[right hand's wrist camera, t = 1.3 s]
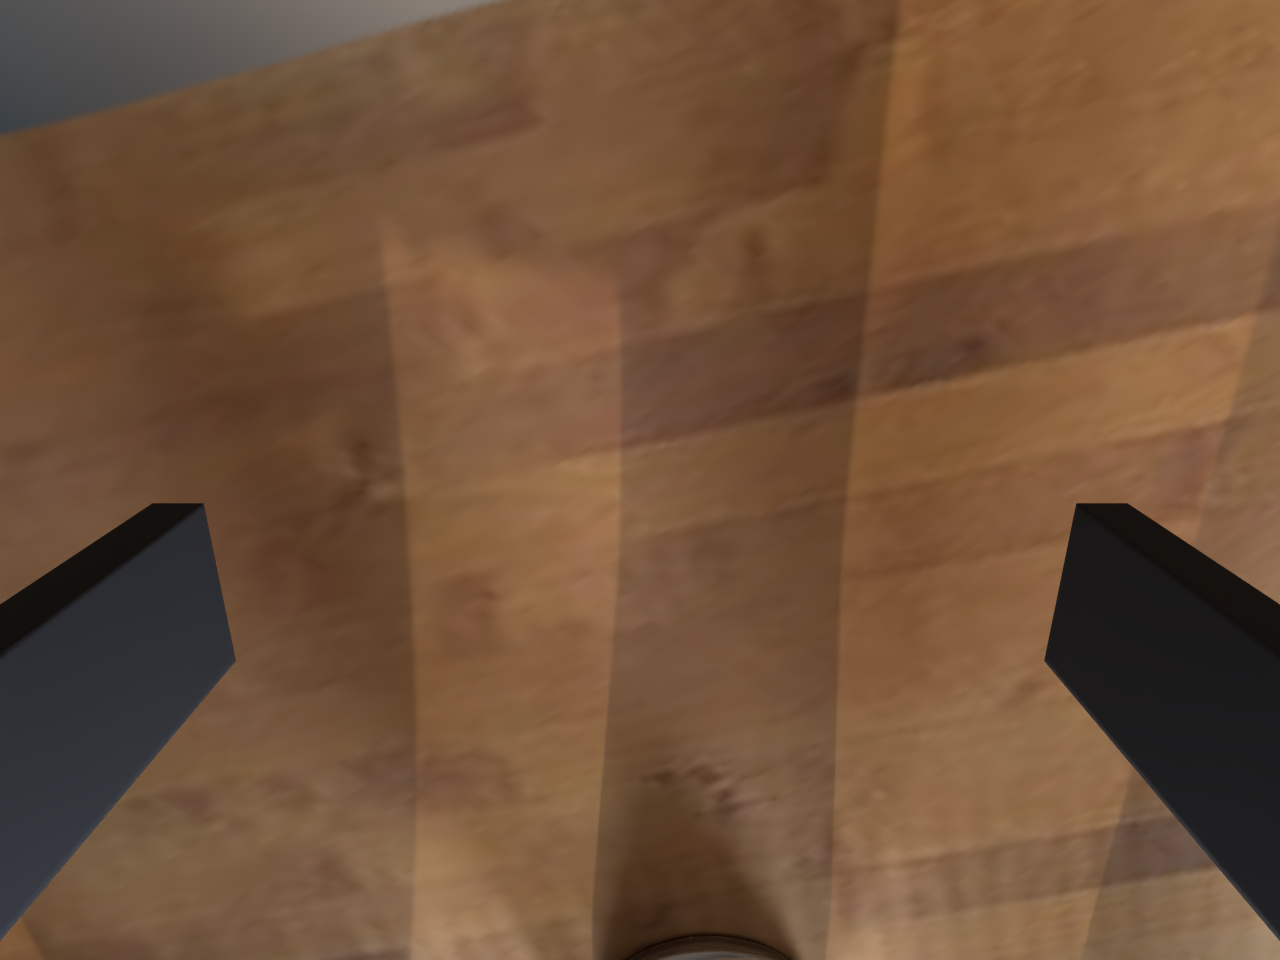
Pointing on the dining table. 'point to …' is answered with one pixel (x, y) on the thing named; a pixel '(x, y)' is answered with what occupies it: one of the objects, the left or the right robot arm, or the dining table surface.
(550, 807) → the dining table surface
